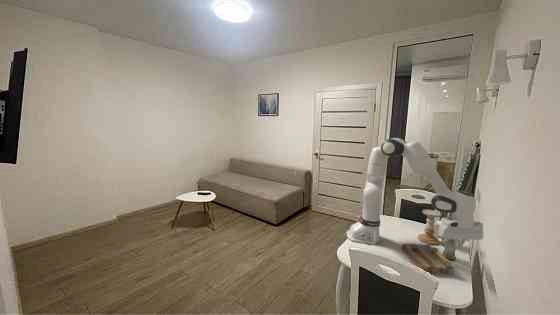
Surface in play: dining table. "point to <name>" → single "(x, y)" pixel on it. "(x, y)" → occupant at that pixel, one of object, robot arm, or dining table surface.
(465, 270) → the dining table surface
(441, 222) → the white cup
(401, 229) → the dining table surface
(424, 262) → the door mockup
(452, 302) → the dining table surface
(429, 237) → the candle holder
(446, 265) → the lock bar
